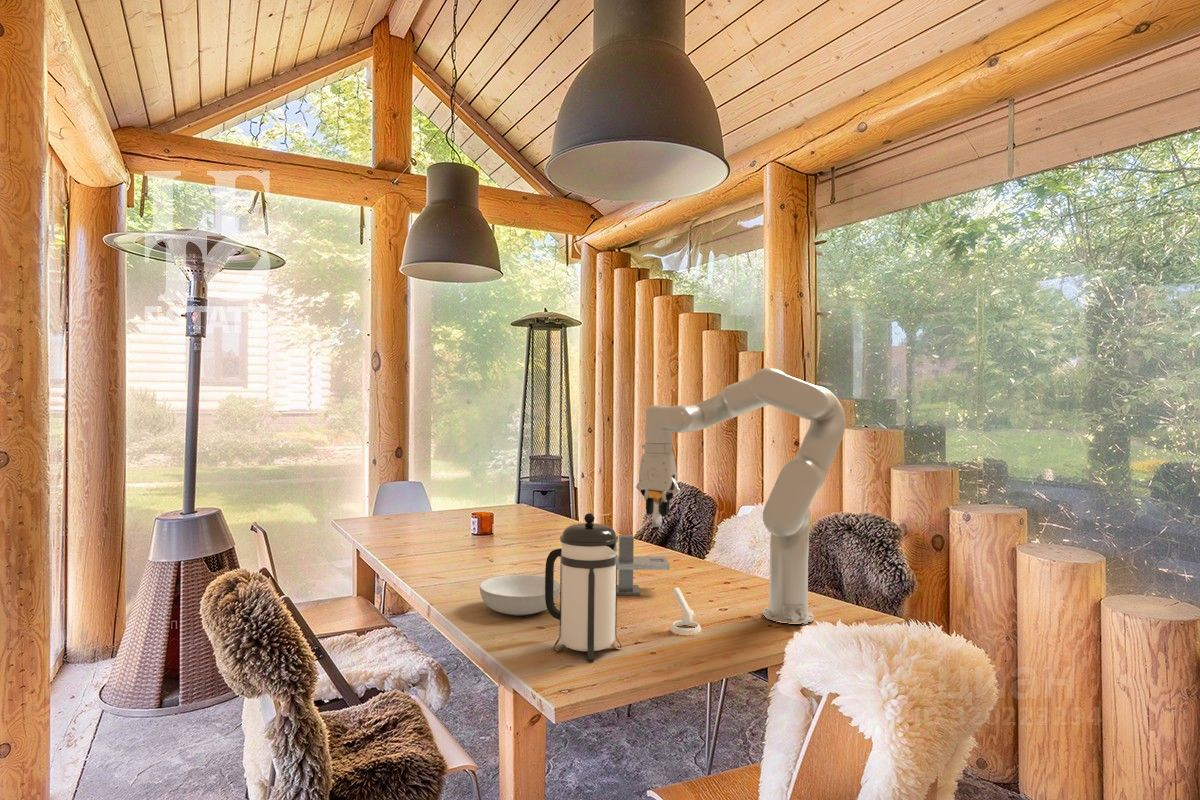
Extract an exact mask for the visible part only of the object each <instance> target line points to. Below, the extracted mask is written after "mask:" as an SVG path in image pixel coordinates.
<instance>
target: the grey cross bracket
mask: <svg viewBox="0 0 1200 800" xmlns="http://www.w3.org/2000/svg"><path fill="white" fill-rule="evenodd" d="M634 539H635V537H634V535H633V534H618V555H617V596H641V593H642V592H641V589H640V587H639V584H634V571H635V570H636V571H637V570H642V571H643V570H645V571H647V570H648V571H649V570H651V571H652V570H653V571H654V570H655V571H661V570H662V571H666V570H667V571H669V570H670V562H668V559H667V558H666V557H665V556H660V555H659V556H652V555H650V556H646V555H645V556H643V555H642V556H639V555H638V556H636V555H634V546H635V545H634V542H635V541H634Z"/></svg>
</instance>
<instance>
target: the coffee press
mask: <svg viewBox="0 0 1200 800" xmlns="http://www.w3.org/2000/svg"><path fill="white" fill-rule="evenodd" d="M583 519H584V521H585V522H582V523H575V524H572V525H570V526H567V527H565V528H564V529H563V531H562V534H561V535H560V536H559V541H560V543H561V548H556V549H553V550H551V551H550V552H549V553H548V555H547V558H546V562H545V571H544V572H545V573H544V574H545V575H544V577H545V602H546V607H547V609H546V610H547V612H548V613H549V614H550V615H551V617H552V618H554V619H556V620H559V628H560V630H558V631H559V632H558V633H559V634H558V638H557V640H556V641H555V642H554V644H553V649H554V651H555V652H560V651H562V649H564V648H565V647H566V648H569V649H571V650H574V651H578V652H586V657H587V662H588V661H589V662H595V652H596V651H602V650H605V649H607V648H609V647H611V646H612V647H613V648H614V649H615V647H616V646H615V645H614V644H613V643H614V642H615V641H617V642H618V644H619V646H620V648H621V649H622V648H623V647H622V644H621V641H620V640H619V639H618V636H617V611H618V610H617V605H618V604H617V602H618V601H617V599H618V597H617V596H618V595H617V585H618V570H617V556H618V555H619V548H618V543H619V535H618V536H617V534H616V531H615V530H614V528H613V527H610V526H609V525H607V524H602V523H597V522H595V523H594V521H595V519H596V518H595V516H594V514H593V513H590V512H589V513H587V514H585V515H584V517H583ZM558 557H559V558H560V563H559V564H560V567H559V568H560V569H559V570H560V572H559V573H560V574H559V577H560V578H559V584H560V590H559V609H557V607H556V606H555V602H554V600H553V582H554V580H555V579H554V578H555V577H554V574H555V571H554V570H555V567H554V566H555V562H556V560H557V558H558ZM615 639H616V640H615ZM559 642H561V643H562V645H561V646H560V647H559V648H556V647H557V645H558V643H559Z"/></svg>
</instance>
